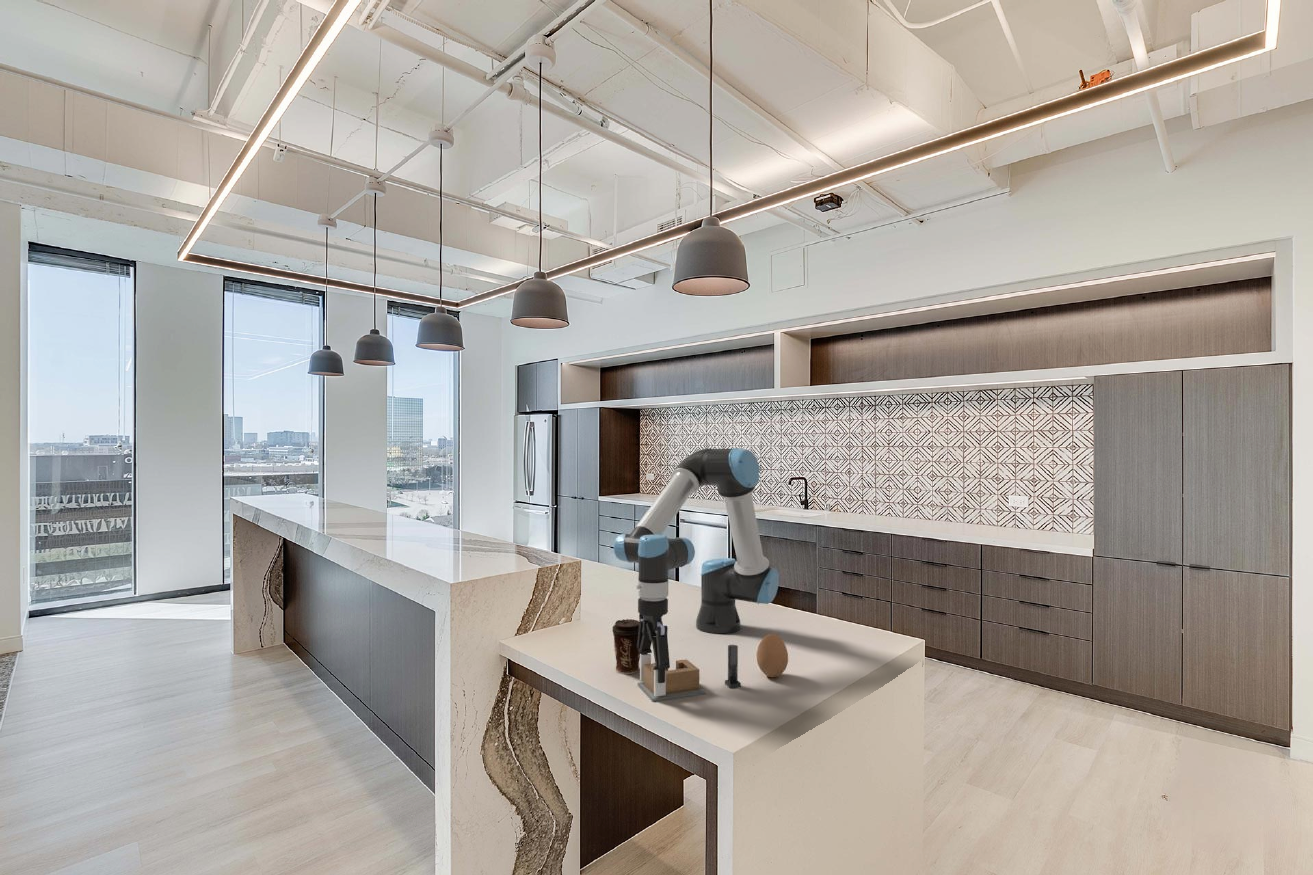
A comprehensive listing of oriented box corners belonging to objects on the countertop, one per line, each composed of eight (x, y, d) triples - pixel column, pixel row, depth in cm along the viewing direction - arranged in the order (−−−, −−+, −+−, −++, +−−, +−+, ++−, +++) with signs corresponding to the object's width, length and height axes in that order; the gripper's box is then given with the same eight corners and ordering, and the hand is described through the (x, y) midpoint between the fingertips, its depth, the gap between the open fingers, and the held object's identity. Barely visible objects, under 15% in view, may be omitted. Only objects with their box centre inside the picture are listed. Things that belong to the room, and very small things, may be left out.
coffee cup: (611, 664, 172) (612, 618, 173) (641, 663, 173) (641, 617, 173) (612, 675, 164) (612, 627, 164) (643, 675, 164) (643, 626, 165)
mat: (687, 678, 162) (687, 675, 162) (705, 693, 152) (705, 691, 152) (637, 685, 157) (637, 682, 157) (652, 701, 147) (652, 699, 147)
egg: (753, 671, 168) (753, 629, 168) (783, 670, 169) (783, 629, 169) (760, 682, 160) (760, 639, 160) (791, 681, 160) (792, 638, 161)
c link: (686, 678, 161) (686, 659, 161) (699, 689, 153) (699, 669, 153) (643, 684, 156) (643, 664, 156) (654, 696, 149) (654, 675, 149)
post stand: (735, 682, 160) (735, 643, 160) (740, 686, 157) (740, 647, 157) (724, 683, 158) (725, 645, 159) (730, 688, 156) (730, 648, 156)
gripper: (625, 589, 162) (624, 674, 162) (654, 609, 142) (654, 707, 141) (651, 587, 165) (650, 670, 165) (684, 606, 144) (683, 702, 144)
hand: (652, 687), depth 153 cm, fingers open, 9 cm apart
